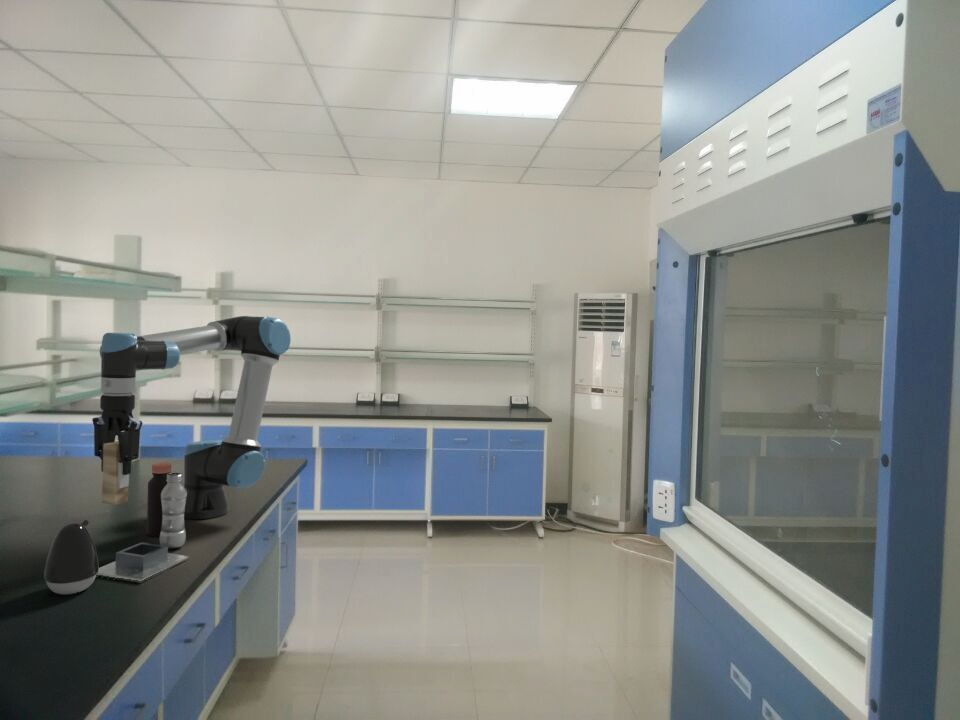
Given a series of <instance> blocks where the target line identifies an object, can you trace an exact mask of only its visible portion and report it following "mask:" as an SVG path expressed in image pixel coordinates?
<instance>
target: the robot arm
mask: <svg viewBox="0 0 960 720" xmlns="http://www.w3.org/2000/svg"><path fill="white" fill-rule="evenodd" d="M291 340H292V339H291V333H290V329H289V328H288V326H287V324H286V323H285V321H283V320H282V319H280V318H277V317H273V316H272V317H271V316H249V315H241V316H234V317H230V318H224V319H221V320H215V321H210V322H208V323H207V324H206V325H204V326H198V327H197V326H196V327H191V328H190V327H189V328H185V329H178V330H177V329H176V330H171V331H164V332H157V333H152V334H144V335H138V336H137V335H136V334H135V333H133V332H132V333H130V332H106V333H104V334H103V336H102V340H101V345H100V348H99V356H100V358H101V359H100V362H101V363H100V365H101V367H100V370H101V371H100V373H101V375H100V392H101V393H102V395H100V397H99V398H100V400H99V401H100V403H99V408H100V410H102V413H101V416H98V417H97V416H96V417H93V418H92V419H91V420H92V421H91V422H92V424H93V429H94V430H93V431H94V432H93V433H94V434H93V440H94V441H93V442H94V443H93V445H94V446H93V447H94V449H93V451H94V453H93V454H94V456H95V457H98V458H99V459H100V460H101V466H100V467H101V469H100V470H101V472H102V473H103V445H104V444H105V443H111V442H116V441H115V440H116V437H117V440H118V442H119V449H120V456H121V460H120V461H119V462H118V488H123V487H127V486H128V487H129V486H130V475H131V473H132V462H133V461H134V460H138V459H139V458H140V457H139V456H140V454H139V453H140V438H141V429H142V426H143V424H144V423H143V421H142V420H137V419H135V418H134V415H133V410H134V409H135V407H136V405H135V404H136V396H135V394H134V393H135V392H136V372H137V371H139V370H141V371H142V370H164V371H165V370H167V369H169V370H170V369H174V368H175V367H177V365H178V363H179V362H180V359H181V358H180V357H181V356H183V355H188V354H194V353H198V352H205V351H209V350H212V351H214V352H221V351H234V352H235V351H238V352H240V356H241V358H242V359H243V361H244V362H243V367H242V371H241V376H240V380H239V386H238V389H237V395H236V399H235V405H234V408H233V413H232V418H231V422H230V427H229V431H228V435H227V436H226V437H225V438H224V439H207V440H200V441H193V442H190V443H188V444H187V445H185V450H184V451H185V452H184V456H183V457H184V461H183V462H184V466H183V467H184V469H183V474H184V475H183V477H184V480H183V481H184V483H183V486H184V487H185V489H186V491H187V498H186V503H185V511H184V519H189V520H205V519H212V518H218V517H221V516H222V517H223V516H225V515H226V514H228V513H229V511H230V503H229V501H228V498H227V493H226V490H225V486H227V487H231V488H235V489H238V488H239V489H247V488H250V487H253V486H254V485H255V484H256V483H258V482H259V481H260V479H261V478H262V476H263V474H264V472H265V470H266V469H265V468H266V460H265V456H264V455H263V454H262V453H261V448H262V445H261V444H260V442H259V441H258V439H259V438H258V437H259V432H260V428H261V422H262V418H263V415H264V414H263V413H264V408H265V403H266V400H267V399H266V398H267V394H268V389H269V384H270V379H271V376H272V370H273V366H274V365H276V364H277V363H279V361H280V355H284V354H285V353H286V352H287V351H288V350H289V348H290V345H291ZM126 456H127V457H126Z"/></svg>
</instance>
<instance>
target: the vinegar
mask: <svg viewBox="0 0 960 720" xmlns="http://www.w3.org/2000/svg"><path fill="white" fill-rule="evenodd" d="M151 473H152V477H151V479H150V480H149V481H148V482H147V503H146V507H147V508H146V513H147V514H146V535H147V536H149V535H150V536H149V537H153V536H159V537H160V533H161V528H162V519H163V516H162V515H163V514H162V502H161V493H162V490H163V489H164V487H165V486H166V485H167V483H168V482H167V481H166V480H167V474H169V473H172V463H170V462H155V463H153V464H151Z"/></svg>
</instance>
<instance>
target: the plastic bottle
mask: <svg viewBox="0 0 960 720" xmlns="http://www.w3.org/2000/svg"><path fill="white" fill-rule="evenodd" d="M166 481H167V482H168V483H167V485H166V486H165V487H164V489H163V490H162V493H161V502H162V514H163V515H162V516H163V519H162V528H161V533H160V536H159V545H162V546H168V550H169V549H170V550H171V549H178V548H180V547H182V546H183V545H184V544H185V543H186V540H187V539H186V538H187V532H186V528H185V518H184V511H185V503H186V498H187V491H186V489H185V487H184V483H182V481H183V474H182V473H181V472H171V473H169V474H167V480H166Z"/></svg>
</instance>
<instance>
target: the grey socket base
mask: <svg viewBox="0 0 960 720" xmlns="http://www.w3.org/2000/svg"><path fill="white" fill-rule="evenodd" d="M187 558H189V559H190V556H189V555H183V554H177V553H171V552H169V549H168V546H162V545H160V544H157V543H156V544H155V543H148V542H142V541H141V542H139V543H137V544H134V545H132V546H128V547H127V548H124V549H122V550H119V551H117V552H115V561H112V562H110V563H108V564H105V565H103V566H100V567H99V571H98V573H97V574H96V575H103V576H109V577H115V578H124V579H131V580H138V581H142V580H144V579H146V578H148V577H150V576H152V575H154V574H156V573H158V572H160V571H163V570H165V569H167V568H169V567H171V566H173V565H175V564H177V563H179V562H181V561H183V560H185V559H187Z"/></svg>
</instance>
